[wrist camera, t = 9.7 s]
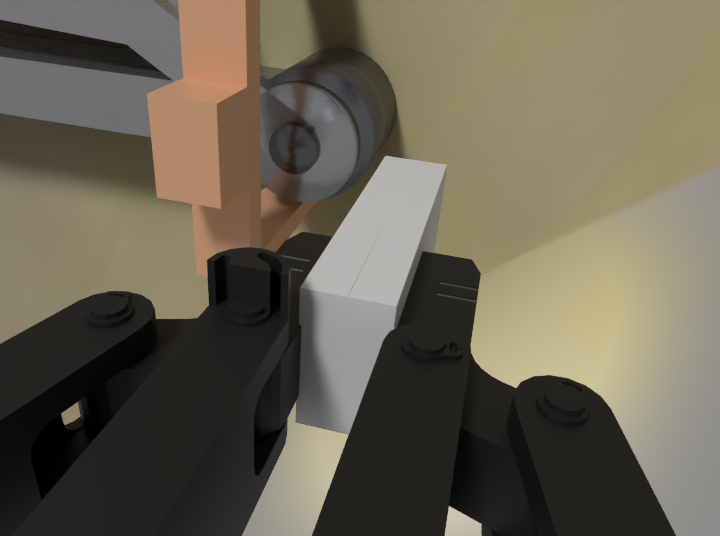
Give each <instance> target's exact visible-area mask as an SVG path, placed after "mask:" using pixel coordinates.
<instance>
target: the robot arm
mask: <svg viewBox="0 0 720 536" xmlns="http://www.w3.org/2000/svg"><path fill="white" fill-rule="evenodd" d="M446 169H447V165H444V164H437V163H431V162H424V161H417V160H411V159H404V158H397V157H391V156H385V157H384V159H383V161H382V162H381V164H380V165H379V167H378V168H377V170H376V171H375V173H374V174H373V176H372V178H371V179H370V181H369V182H368V184H367V185H366V187H365V188H364V190H363V191H362V193H361V194H360V196H359V198H358V199H357V201H356V202H355V204H354V205H353V207H352V208H351V210H350V211H349V213H348V215H347V216H346V218H345V219H344V221H343V222H342V224H341V225H340V227H339V228H338V230H337V232H336V233H335V235H334V236H333V237H329V236H324V235H318V234H312V233H306V232H302V233H300V234H297V235H295V236H293V237H291V238H289V239H287V240H285V241H284V243H283V244H282V245H281V246H280V248H279V249H278V250H277V251H276V252H273V251H270V250H266V249H263V248H251V247H244V248H234V249H229V250H225V251H222V252H219V253H216V254H215V255H213V256H212V257H210V258H209V259H207V272H208V292H209V306H208V307H207V308H206V309H205V310H204V312H203V313H202V314H201V315H200V316H199V317H198V318H194V319H156V317H155V309H154V307H153V304H152V302H151V301H150V300H149V299H147V298H145V297H144V296H142V295H140V294H135V293H131V292H124V291H119V292H117V291H109V292H106V293H100V294H95V295H92V296H89V297H87V298H84V299H82V300H79V301H77V302H76V303H74V304H72V305H70V306H68V307H67V308H65V309H63V310H61V311H59V312H57V313H56V314H54V315H52V316H50V317H48V318H47V319H45V320H43V321H41V322H39V323H37V324H36V325H34V326H32V327H30V328H28V329H27V330H25V331H23V332H21V333H19V334H17V335H16V336H14V337H12V338H10V339H8V340H7V341H5V342H3V343H1V344H0V536H242V534H243V532H244V529H245V528H246V525H247V523H248V521H249V519H250V517H251V515H252V513H253V511H254V509H255V506H256V504H257V502H258V500H259V498H260V496H261V494H262V491H263V490H264V487H265V485H266V483H267V481H268V479H269V477H270V475H271V473H272V470H273V469H274V466H275V464H276V462H277V460H278V458H279V456H280V454H281V452H282V450H283V447H284V445H285V442H286V437H287V418H288V416H289V414H290V412H291V410H292V408H293V406H294V404H295V402H296V423H301V424H305V425H309V426H314V427H318V428H323V429H327V430H331V431H336V432H340V433H344V434H348V435H349V436H348V439H347V441H346V444H345V447H344V449H343V453H342V455H341V458H340V460H339V463H338V466H337V468H336V471H335V474H334V477H333V479H332V482H331V485H330V488H329V490H328V493H327V496H326V499H325V501H324V504H323V507H322V510H321V512H320V515H319V518H318V521H317V524H316V526H315V529H314V531H313V534H312V536H444V535H445V528H446V521H447V514H448V507H449V506H451V507H452V508H454V509H456V510H458V511H460V512H461V513H463V514H465V515H467V516H469V517H470V518H472V519H474V520H476V521H478V522H479V523H481V524H482V536H676V535H675V533H674V531H673V529H672V527H671V525H670V523H669V521H668V519H667V517H666V515H665V513H664V511H663V509H662V507H661V506H660V504H659V502H658V500H657V498H656V496H655V494H654V492H653V490H652V488H651V486H650V484H649V482H648V480H647V478H646V476H645V474H644V473H643V470H642V469H641V467H640V465H639V463H638V461H637V459H636V457H635V455H634V453H633V451H632V449H631V447H630V445H629V443H628V441H627V439H626V438H625V435H624V434H623V432H622V430H621V428H620V426H619V424H618V422H617V420H616V418H615V416H614V414H613V412H612V410H611V409H610V407H609V406H608V405H607V403H606V402H605V401H604V400H603V398H602V397H601V396H600V395H598V394H597V393H595V392H594V391H593V390H591V389H590V388H588V387H587V386H585V385H583V384H580V383H578V382H575V381H573V380H570V379H568V378H562V377H557V376H551V375H547V376H534V377H531V378H529V379H527V380H525V381H523V382H521V383H520V384H519V386H518V387H517V388H514V387H512V386H510V385H507V384H505V383H503V382H501V381H499V380H497V379H495V378H494V377H492V376H490V375H489V374H488V373H486V372H485V371H484V370H482V369H481V368H480V366H479V365H478V364H477V363H476V362H475V360H474V358H473V356H472V354H471V346H470V344H471V337H472V330H473V323H474V317H475V310H476V303H477V296H478V288H479V282H480V275H481V274H480V272H479V270H478V269H477V267H476V265H475V264H474V262H473V261H472V260H471V259H465V258H459V257H454V256H448V255H442V254H437V253H434V249H435V242H436V235H437V229H438V222H439V215H440V209H441V202H442V195H443V189H444V182H445V175H446ZM76 402H78V404H79V409H80V415H81V416H80V417H79V418H78V419H76V420H75V421H73V422H71V423H69V424H67V425H64V423H63V420H62V416H61V413H62V412H64V411H65V410H67V409H68V408H69V407H71V406H72V405H74V404H75V403H76Z"/></svg>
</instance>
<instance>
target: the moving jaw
mask: <svg viewBox="0 0 720 536" xmlns="http://www.w3.org/2000/svg"><path fill="white" fill-rule="evenodd" d="M0 20H4V21H9V22H15V23H20V24H25V25H30V26H35V27H40V28H45V29H50V30H55V31H60V32H65V33H71V34H76V35H81V36H86V37H91V38H96V39H101V40H106V41H111V42H116V43H121V44H126V45H128V46H129V47H130V48H132V49H133V50H134V51H135V52H137V53H138V54H139V55H141V56H142V57H143V58H144V59H146V60H147V61H148V62H150V63H151V64H152V65H153V66H155V67H156V68H157V69H159V70H160V71H161V72H163V73H164V74H165V75H166V76H168V77H169V78H170V79H172V80H173V81H174V82H175V81H178V80H180V79H182V78H183V67H182V53H181V38H180V23H179V9H178V0H0ZM260 121H261V184H262V185H264V186H265V187H266V188H267V189H268V190H270V191H271V192H273V193H274V194H276V195H278V196H280V197H282V198H285V199H288V200H291V201H296V202H315V201H319V200H323V199H325V198H328V197H329V196H331V195H333V194H334V193H336V192H337V191H338V190H339V189H340V188H341V187H342V186H343V185H344V184H345V182H346V181H347V180H348V178H349V177H350V176H351V174H352V173H353V171H354V169H355V168H356V165H357V163H358V160H359V155H360V148H361V141H360V133H359V128H358V125H357V122H356V120H355V118H354V116H353V114H352V112H351V110H350V109H349V107H348V106H347V105H346V104H345V102H344V101H343V100H342V99H341V98H340V97H339V96H338V95H337V94H335V93H334V92H333V91H331V90H330V89H328V88H326V87H324V86H322V85H320V84H317V83H314V82H310V81H303V80H293V81H287V82H284V83H280V84H278V85H276V86H275V85H274V84H273V83H271V82H270V81H269V80H268V79H266V78H265V77H264V76H263V75H261V74H260Z"/></svg>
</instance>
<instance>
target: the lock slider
mask: <svg viewBox="0 0 720 536" xmlns="http://www.w3.org/2000/svg"><path fill="white" fill-rule="evenodd" d="M178 9H179V23H180V38H181V53H182V67H183V78H182V79H180V80H178V81H175V82H173V83H171V84H168V85H166V86H164V87H161V88H159V89H157V90H154V91H152V92H150V93H147V100H148V111H149V121H150V131H151V141H152V152H153V162H154V172H155V182H156V193H157V198H162V199H167V200H173V201H179V202H184V203H190V204H192V214H193V229H194V244H195V259H196V273H197V275H201V276H207V277H208V272H207V259H209V258H210V257H212V256H213V255H215V254H216V253H219V252H222V251H225V250H229V249H234V248H244V247H251V248H263V249H266V250H270V251H273V252H276V251H277V250H278V249H279V248H280V246H281V245H282V244H283V243H284V241H285V240H287V239H288V238H289V237H290V235H291V234H292V233H293V232H294V230H295V229H296V228H297V227H298V225H299V224H300V223H301V222H302V220H303V219H304V218H305V216H306V215H307V214H308V213H309V211H310V210H311V209H312V208H313V206H314V205H315V204H316V203H317V201H315V202H296V201H291V200H288V199H285V198H282V197H280V196H278V195H276V194H274V193H273V192H271V191H270V190H268V189H267V188H266V187H265V188H264V189H263V190H262V191H261V121H260V0H178Z"/></svg>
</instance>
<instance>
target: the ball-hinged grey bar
mask: <svg viewBox="0 0 720 536" xmlns="http://www.w3.org/2000/svg"><path fill="white" fill-rule="evenodd" d="M260 74H261V75H263V76H264V77H265V78H266V79H268V80H269V81H270V82H271V83H273V84H274V85H275V86H276V85H278V84H280V83H284V82H287V81H293V80H303V81H310V82H314V83H317V84H320V85H322V86H324V87H326V88H328V89H330V90H331V91H333V92H334V93H335V94H337V95H338V96H339V97H340V98H341V99H342V100H343V101H344V102H345V104H346V105H347V106H348V107H349V109H350V110H351V112H352V114H353V116H354V118H355V120H356V122H357V125H358V128H359V133H360V141H361V148H360V155H359V160H358V163H357V165H356V168H355V169H354V171H353V173H352V174H351V176H350V177H349V178H348V180H347V181H346V182H345V184H344V185H343V186H342V187H341V188H340V189H339V190H338V191H337V192H336V193H334V194H333V195H331V196H329V197H328V198H331V197H334V196H336V195H339V194H341V193H342V192H344V191H346V190H347V189H348V188H350V187H351V186H352V185H353V184H354V183H355V182H356V181H357V179H358V178H359V177H360V176H361V174H362V173H363V171H364V170H365V168H366V167H367V166H368V164H369V163H370V161H371V160H372V159H373V157H374V156H375V154H376V153H377V152H378V150H379V149H380V147H381V146H382V145H383V143H384V142H385V140H386V139H387V137H388V136H389V134H390V132H391V130H392V127H393V124H394V121H395V115H396V101H395V95H394V91H393V88H392V85H391V83H390V81H389V79H388V77H387V75H386V74H385V72H384V71H383V70H382V69H381V67H380V66H379V65H378V64H377V63H376V62H374V61H373V60H372V59H371V58H369V57H368V56H366V55H365V54H363V53H361V52H358V51H355V50H353V49H348V48H339V47H336V48H328V49H324V50H321V51H318V52H316V53H314V54H313V55H311V56H309V57H307V58H306V59H304V60H302V61H300V62H299V63H297V64H295V65H293V66H292V67H290V68H288V69H286V70H282V69H275V68H267V67H260ZM173 82H174V81H173V80H172V79H170V78H169V77H168V76H166V75H165V74H164V73H163V72H161V71H160V70H159V69H157V68H156V67H155V66H153V65H152V64H151V63H150V62H148V61H147V60H146V59H144V58H143V57H142V56H141V55H139V54H138V53H137V52H135V51H134V50H131V49H124V48H116V47H108V46H101V45H93V44H86V43H78V42H71V41H63V40H56V39H48V38H40V37H33V36H25V35H18V34H10V33H3V32H0V113H1V114H7V115H13V116H20V117H26V118H32V119H38V120H45V121H51V122H57V123H64V124H70V125H76V126H82V127H89V128H95V129H101V130H108V131H114V132H120V133H126V134H133V135H139V136H145V137H151V131H150V121H149V111H148V100H147V93H150V92H152V91H154V90H157V89H159V88H161V87H164V86H166V85H168V84H171V83H173ZM325 199H327V198H325Z"/></svg>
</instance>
